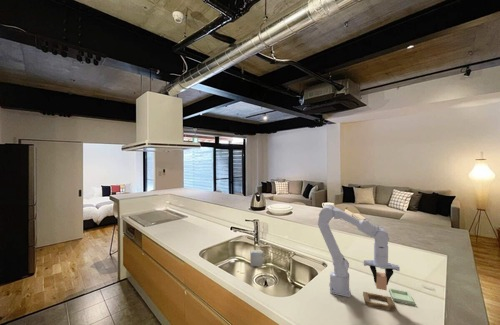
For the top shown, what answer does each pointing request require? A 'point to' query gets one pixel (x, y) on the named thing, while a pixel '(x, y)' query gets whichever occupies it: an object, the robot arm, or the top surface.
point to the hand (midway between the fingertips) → (380, 282)
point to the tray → (401, 296)
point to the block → (381, 281)
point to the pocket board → (378, 305)
